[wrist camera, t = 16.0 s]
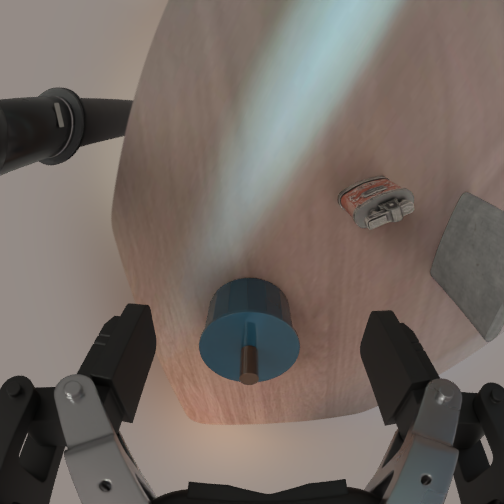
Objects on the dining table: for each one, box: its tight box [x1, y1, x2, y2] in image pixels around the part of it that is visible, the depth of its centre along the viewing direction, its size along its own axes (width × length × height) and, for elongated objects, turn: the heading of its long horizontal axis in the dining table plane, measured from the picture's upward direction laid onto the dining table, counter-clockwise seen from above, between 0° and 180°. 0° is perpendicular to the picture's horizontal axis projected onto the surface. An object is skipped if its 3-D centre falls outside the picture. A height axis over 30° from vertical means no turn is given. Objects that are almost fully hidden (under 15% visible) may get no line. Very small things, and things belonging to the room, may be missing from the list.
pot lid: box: [199, 309, 300, 385], centre depth 37 cm, size 14×14×6 cm
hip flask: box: [430, 192, 504, 342], centre depth 32 cm, size 16×4×20 cm, turn 167°
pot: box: [205, 278, 293, 327], centre depth 43 cm, size 13×13×8 cm
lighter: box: [338, 176, 414, 229], centre depth 34 cm, size 8×3×10 cm, turn 114°
